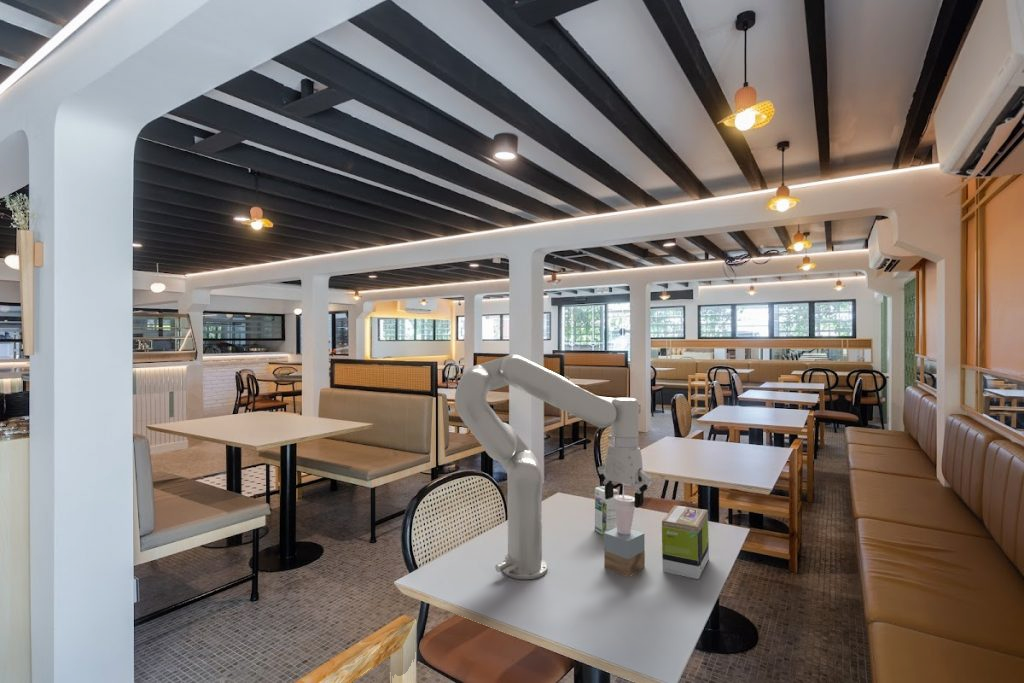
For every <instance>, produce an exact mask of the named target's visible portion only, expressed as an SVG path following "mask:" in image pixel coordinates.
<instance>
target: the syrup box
mask: <svg viewBox="0 0 1024 683" xmlns="http://www.w3.org/2000/svg"><path fill="white" fill-rule="evenodd" d="M616 495H619V490H618V489H616V488H614V489H613V497H612V498H610V499H605V485H604V486H603V485H601V486H598V487H597V486H596V487H595V488H594V531H595V530H596V532H597V533H599V534H600V535H602V536H603V537H604V533H605V532H607V531H609V530H612V529H614V528H616V527H617V524H616V512H615V502H614V496H616Z"/></svg>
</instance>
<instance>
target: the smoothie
mask: <svg viewBox="0 0 1024 683" xmlns="http://www.w3.org/2000/svg"><path fill="white" fill-rule="evenodd" d="M625 489H626V485H624V484H622V494H618V495H616V496H614V502H615V512H616V524H617V532H618V533H619V534H623V535H628V534H630V532H631V529H632V526H633V519H634V513H635V508H636V507H635V496H632V495H629V494H625Z"/></svg>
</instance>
